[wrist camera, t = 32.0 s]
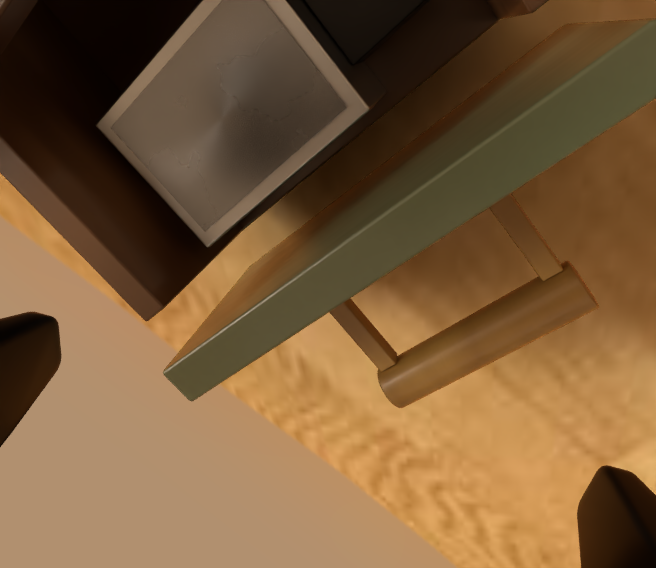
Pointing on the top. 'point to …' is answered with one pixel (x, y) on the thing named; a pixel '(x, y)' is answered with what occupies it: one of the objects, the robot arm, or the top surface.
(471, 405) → the top surface
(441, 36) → the drawer
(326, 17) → the perfume bottle
